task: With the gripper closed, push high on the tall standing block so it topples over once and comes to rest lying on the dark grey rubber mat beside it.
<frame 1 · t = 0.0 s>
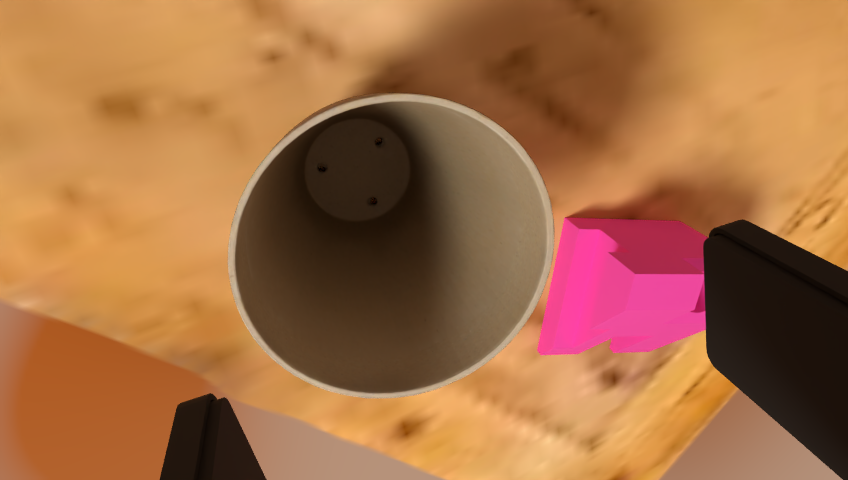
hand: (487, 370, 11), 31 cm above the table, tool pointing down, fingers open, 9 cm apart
bracket: (605, 285, 50), on the table
plant pot: (357, 165, 42), on the table
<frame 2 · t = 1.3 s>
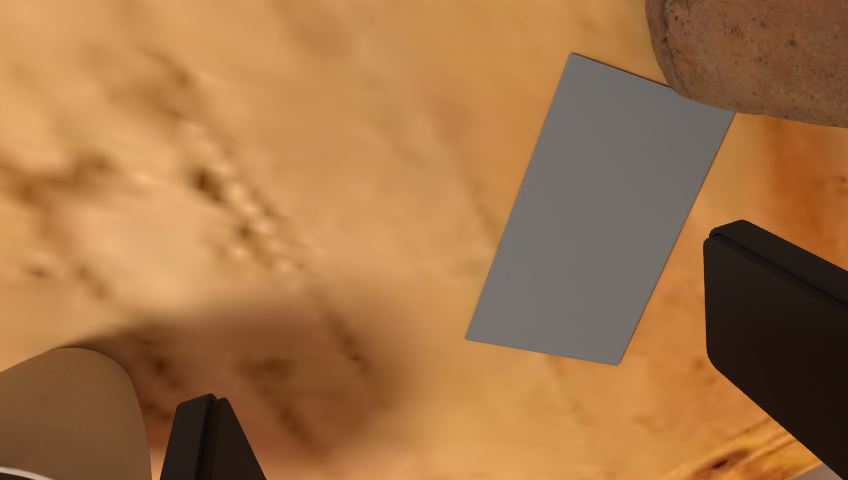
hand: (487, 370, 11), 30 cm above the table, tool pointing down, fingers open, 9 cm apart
block: (685, 10, 41), on the table, touching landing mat
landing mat: (595, 226, 45), on the table
plant pot: (78, 389, 41), on the table
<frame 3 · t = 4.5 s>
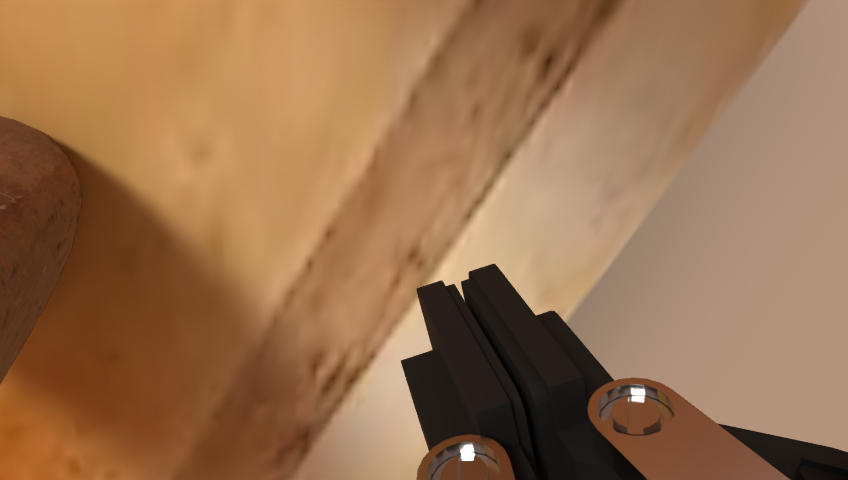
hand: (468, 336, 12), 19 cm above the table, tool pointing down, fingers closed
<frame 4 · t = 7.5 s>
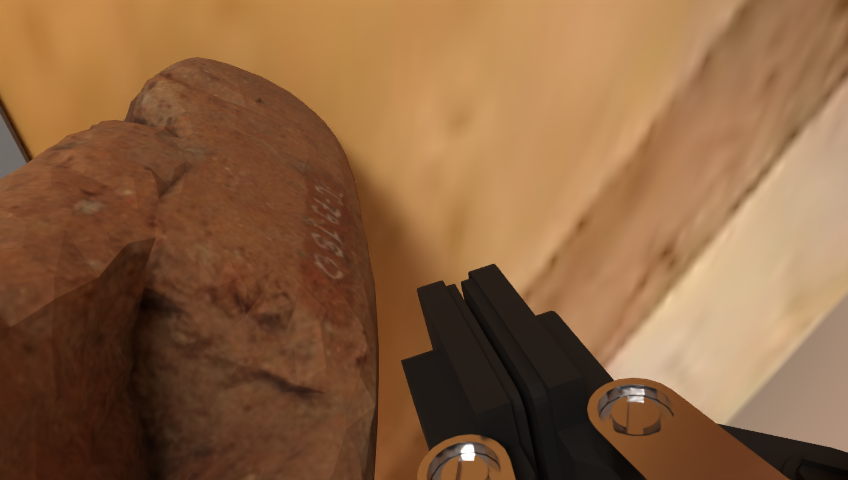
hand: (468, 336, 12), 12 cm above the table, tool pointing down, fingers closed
block: (206, 197, 22), on the table, touching gripper, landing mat
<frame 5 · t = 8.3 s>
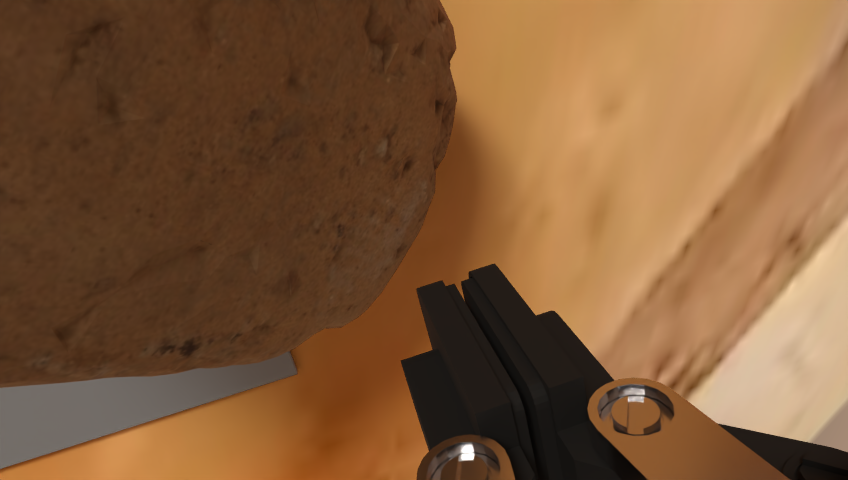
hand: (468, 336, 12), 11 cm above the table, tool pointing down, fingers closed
block: (346, 175, 20), point 2 cm above the table
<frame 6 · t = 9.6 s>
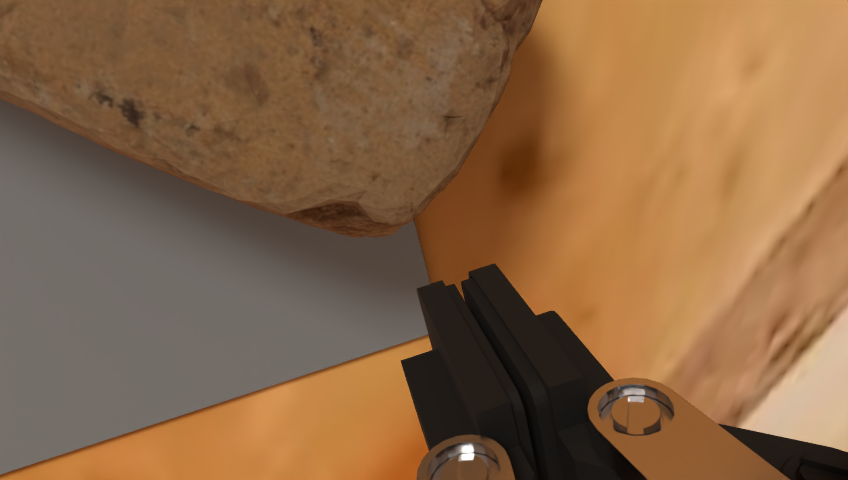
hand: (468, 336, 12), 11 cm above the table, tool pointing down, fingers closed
block: (470, 97, 17), point 4 cm above the table, touching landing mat
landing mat: (103, 260, 21), on the table
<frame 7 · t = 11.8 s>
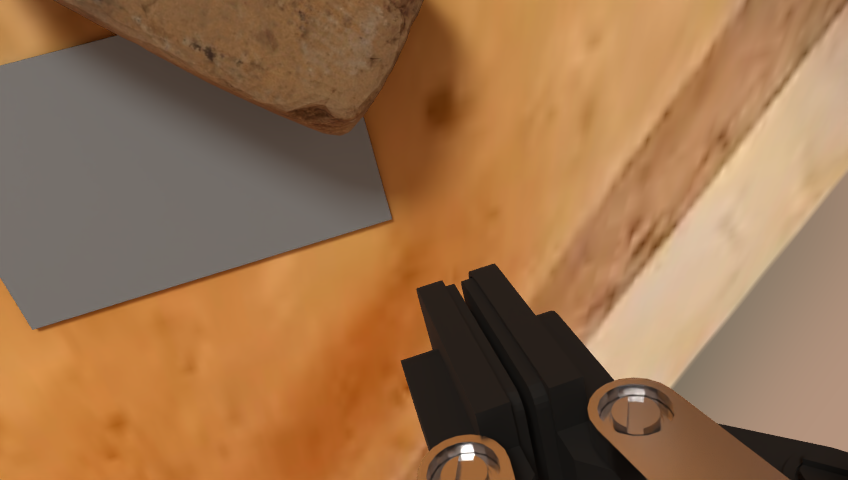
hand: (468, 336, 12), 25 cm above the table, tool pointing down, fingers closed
block: (394, 54, 30), point 4 cm above the table, touching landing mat
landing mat: (172, 163, 34), on the table
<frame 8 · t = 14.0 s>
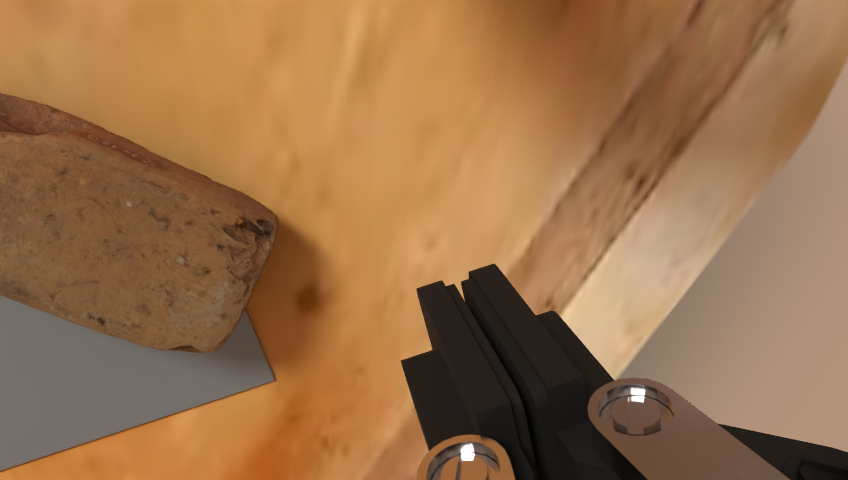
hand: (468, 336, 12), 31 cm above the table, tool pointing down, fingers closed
block: (253, 288, 40), point 4 cm above the table, touching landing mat
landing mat: (94, 351, 43), on the table
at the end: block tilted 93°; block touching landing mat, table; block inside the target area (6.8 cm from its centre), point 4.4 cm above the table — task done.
